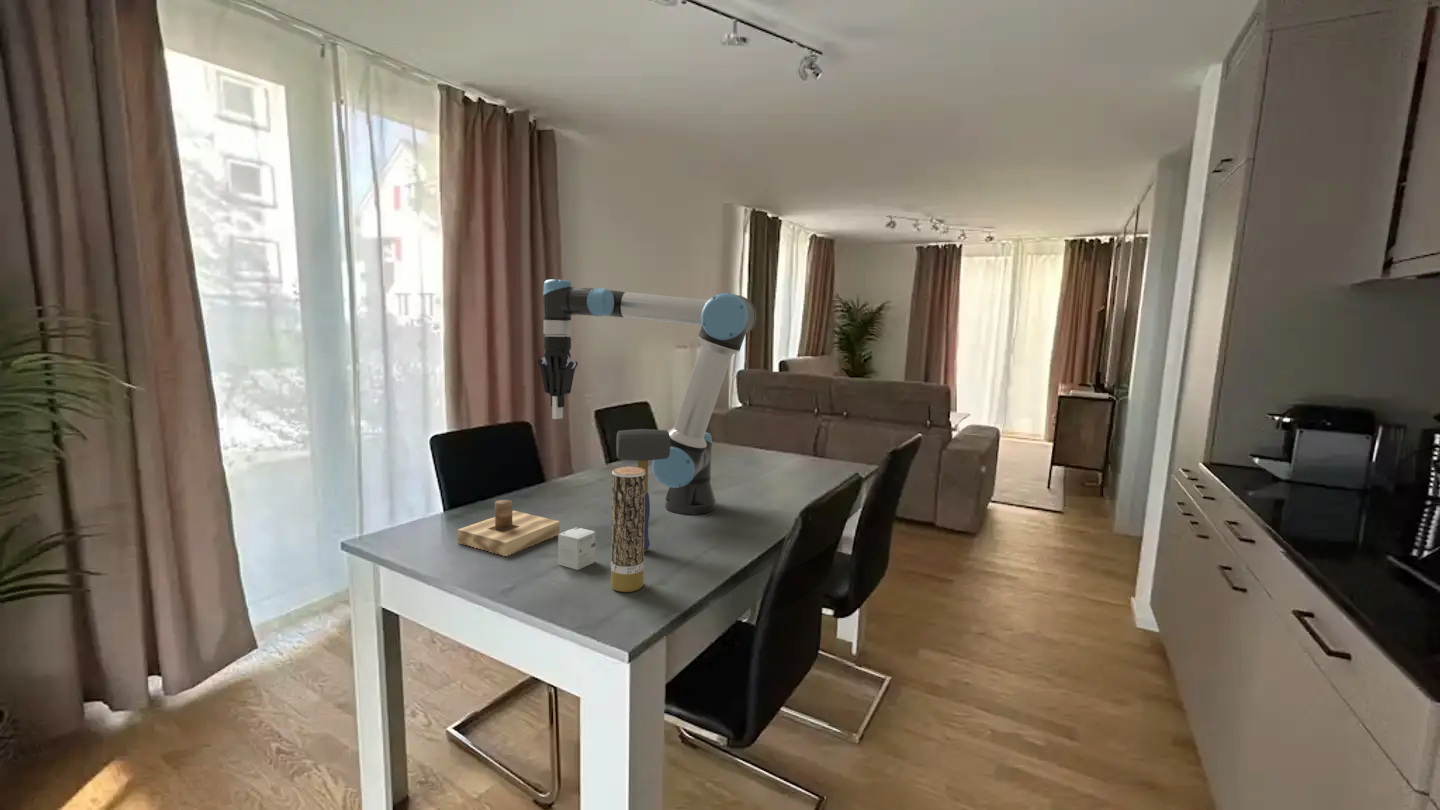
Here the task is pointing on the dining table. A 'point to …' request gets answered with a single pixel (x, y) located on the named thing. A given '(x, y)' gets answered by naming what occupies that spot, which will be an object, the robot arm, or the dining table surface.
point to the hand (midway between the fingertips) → (557, 418)
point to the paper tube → (627, 528)
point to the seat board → (509, 534)
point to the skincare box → (576, 548)
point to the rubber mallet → (643, 456)
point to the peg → (503, 515)
